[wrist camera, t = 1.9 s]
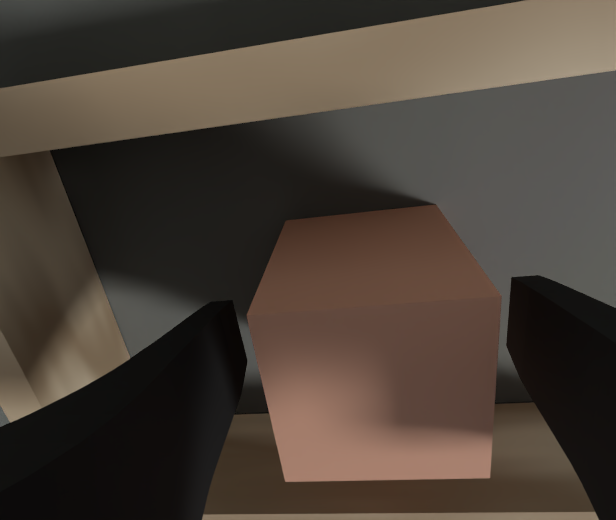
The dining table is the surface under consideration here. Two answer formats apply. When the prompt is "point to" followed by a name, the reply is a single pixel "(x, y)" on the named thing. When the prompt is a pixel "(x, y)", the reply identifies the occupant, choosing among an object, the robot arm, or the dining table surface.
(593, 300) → the robot arm
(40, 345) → the crate
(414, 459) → the block
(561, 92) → the dining table surface
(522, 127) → the dining table surface
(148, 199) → the dining table surface
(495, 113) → the dining table surface
